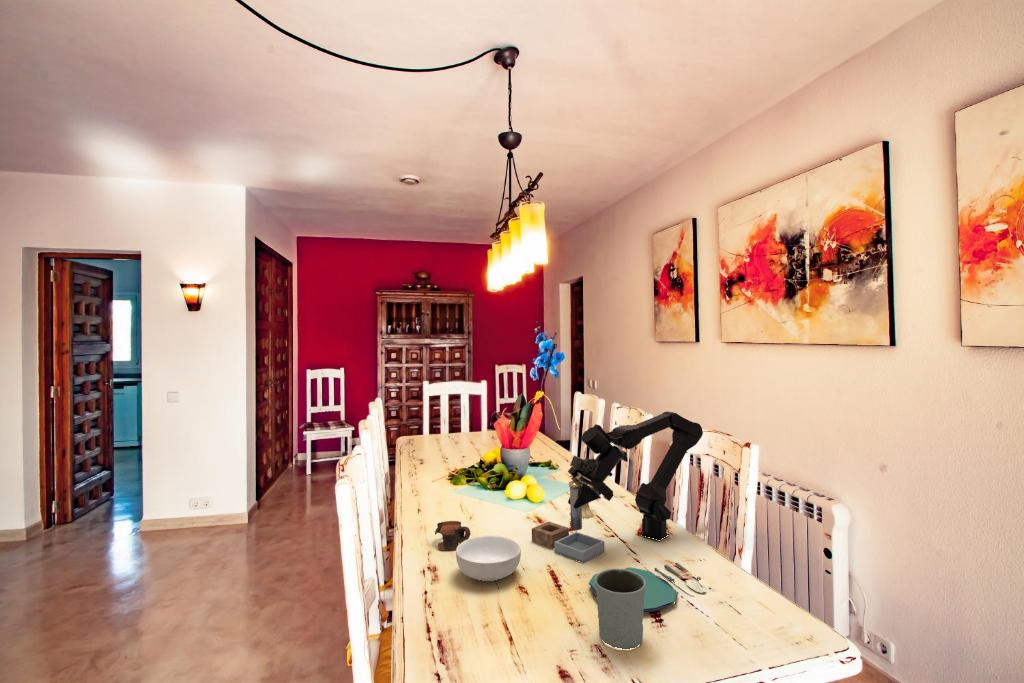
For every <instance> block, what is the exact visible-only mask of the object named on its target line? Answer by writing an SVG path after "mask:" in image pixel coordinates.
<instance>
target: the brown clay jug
mask: <svg viewBox="0 0 1024 683" xmlns="http://www.w3.org/2000/svg"><path fill="white" fill-rule="evenodd" d="M436 526H437V528H436V529H435V531H434V535H437V534H440V535H442V536H441V537H442V541H441V542H438V543H437V546H438V551H439V550H440V551H446V550H447V551H456V549H457V547H458V545H459V544H461V543H462V542H464V541H465V540H468V539H470V536H471V534H472V533H471V529H470V528H469V526H464V525H463V526H462V522H461V521H459V520H447V521H441V522H438V523H437V525H436Z"/></svg>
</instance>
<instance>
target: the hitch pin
mask: <svg viewBox="0 0 1024 683" xmlns="http://www.w3.org/2000/svg"><path fill="white" fill-rule="evenodd" d="M568 487H569V498H570V504H569V506H570V508H569V510H570V512H571V515H570V529H572V530H574V531H579V530H582V529H583V519H582V506H581V507H579V508H577V509H575V508H574V507H573V505H574V503H575V502H576V500H577V499H578V497H579V495H580V494H581V487H582V482H579V481H574V480H572V481H569V482H568Z"/></svg>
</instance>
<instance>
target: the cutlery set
mask: <svg viewBox="0 0 1024 683" xmlns="http://www.w3.org/2000/svg"><path fill="white" fill-rule="evenodd" d="M675 564H676V565H677V566H678V567H680V568H681V569H683V570H685V571H686V570H687V569H686V568H685V567H684V566H683V565H681V564H680V563H679V562H675V563H674V565H675ZM663 567H664V569H666V568H667V569H666V570H668V571H669V572H671V573H673V574H674V575H675V576H677V575H678V576H680V577H681V578H684V577H683V576H682V575H681V574H680V573H679V572H677V571H676V570H675V569H673V567H671V566H670V565H668V564H664V566H663ZM678 567H677V568H678ZM624 569H626V570H630V571H633V572H635V573H637V574H639V575H641V576H642V577H643V578H644V580H645V583H646V586H645V598H644V610H643V614H645V613H655V612H659V611H662V610H664V609H668V608H670V607H671V606H672V605H673V603H674V602H675V604H674V605H676V604H677V598H678V596H679V595H678V591H677V590H676V589H675V588H674V587H673V586H672V585H671V584H670V583H669V582H668V580H666V579H667V578H668V579H670V580H671V581H673V582H674V581H675V578H672V576H669V575H667V574H665V573H664V572H662V571H660V570H659V569H658V568H657V567H654V569H655V571H656V570H657V572H658V573H660V574H661V575H662V576H663V577H665V576H666V577H667V578H666V577H665V578H666V579H664V578H662V577H660V576H658V575H656V574H655V573H653V572H652V571H650V570H646V569H642V568H637V567H625V568H624ZM681 569H680V570H681ZM597 574H598V573H594V574H593V575H592V577H591V578H590V580H589V582H588V585H589V586H590V590H591V592H592V593H593V595H594V596H595V597H596V598H597V594H596V587H595V577H596V575H597ZM678 576H677V577H678ZM680 577H679V578H680ZM681 578H680V579H681ZM697 579H699V580H701V579H702V578H701V576H697ZM670 580H669V581H670ZM699 580H698V581H699ZM671 581H670V582H671ZM698 581H697V582H698ZM675 582H676V581H675ZM675 582H674V583H675Z"/></svg>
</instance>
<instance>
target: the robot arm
mask: <svg viewBox="0 0 1024 683" xmlns="http://www.w3.org/2000/svg"><path fill="white" fill-rule="evenodd" d="M668 428H669V429H670V430H672V433H671V435H672V436H671V437H672V438H671V440H672V442H671V445H670V446H669V448H668V450H667V452H666V453H665V456H664V457H663V459H662V460H661V463H660V464H659V467H658V468H657V470H656V472H655V474H654V476H653V478H652V479H651V481H649V482H648V483H644V482H642V483H641V484H640V485H639V488H638V490H637V491H636V492H635V494H636V496H635V497H634V498H635V499H634V501H635V505H636V507H637V508H638V510H639V513H640V514H642V518H641V531H642V533H641V534H640V536H641V535H642V536H641V537H643V536H646V537H650V538H654V539H657V540H661V539H662V538H664V537H666V536H667V535H669V536H670V534H669V532H667V531H668V530H667V527H668V526H667V520H670V519H671V515H672V511H671V510H670V509H669V508H668V507H667V506H666V501H667V489H668V487H669V485H670V484H671V482H672V480H673V478H674V475H676V472H677V470H678V468H679V466H680V465H681V463H682V461H683V459H684V457H685V455H686V454H687V452H688V451H689V450H690V449H692V448H693V447H694V446H696V445H697V444H698V443H699V442H700V440H701V439H702V437H703V434H704V431H703V427H702V426H701V424H700V423H698V422H694V421H691V420H689V419H687V418H685V417H683V416H681V415H680V414H678V413H677V412H673V411H666V410H665V411H664V412H662V413H661V414H659V415H655V416H654V417H651V418H649V419H647V420H643V421H641V422H639V423H636V424H632V425H621V426H616V427H613V429H612V430H611V431H608V432H606V431H605V430H604V429H603V427H602V426H601V425H600V424H594V425H593V426H592V427H590V428H588V429H587V430H585V431H584V432H583V433H582V435H581V438H580V439H581V441H582V443H584V445H586V447H587V448H588V449H590V451H591V452H592V453H593V454H596V455H597V456H596V457H595V458H593V457H592V458H588V457H585V458H581V457H579V456H576V455H573V457H572V459H571V462H570V465H569V466H570V468H569V469H568V470H567V473H568V474H570V476H571V477H572V479H573V480H572V481H579V482H582V487H581V494H580V495H579V497H578V499H577V500H576V502H575V503H574V505H573V507H574V508H575V509H577V508H579V507H581V506H583V505H585V504H587V503H589V504H590V503H591V502H593V501H596V500H598V499H600V500H601V499H602V497H601V495H602V496H603V498H604V499H605V500H607V501H609V502H610V501H611V500H612V498H613V497H614V490H612V488H611V487H610V486H608V485H607V484H606V483H605V482H604V481H605V480H606V479H607V478H608V477H610V478H611V477H612V476H613V475H614V474H613V470H614V469H615V467H616V466H617V465H618V463H619V462H620V461H623V462H626V463H628V462H629V459H628V452H627V451H624V450H622V448H623V449H625V450H632V449H633V448H635V447H637V446H638V445H639V444H641V442H642V440H643V439H645V438H647V437H649V436H652V435H654V434H656V433H659V432H661V431H664V430H667V429H668ZM612 444H613V445H612ZM619 447H620V448H621V449H620V448H619ZM567 503H568V504H569V505H570V497H568V501H567ZM667 533H668V534H667ZM646 537H645V538H646ZM650 538H649V539H650ZM666 538H667V537H666ZM664 539H665V538H664ZM661 541H662V540H661Z"/></svg>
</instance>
